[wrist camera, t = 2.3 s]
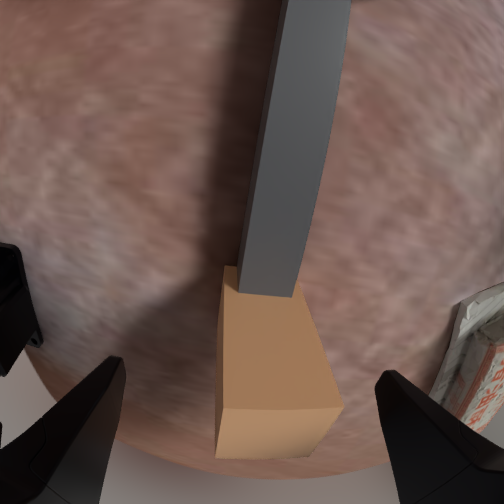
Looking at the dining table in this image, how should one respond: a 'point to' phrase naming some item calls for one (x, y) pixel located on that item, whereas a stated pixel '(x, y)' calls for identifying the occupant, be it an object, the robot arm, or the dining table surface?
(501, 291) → the packaged product
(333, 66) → the scraper
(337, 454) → the dining table surface
